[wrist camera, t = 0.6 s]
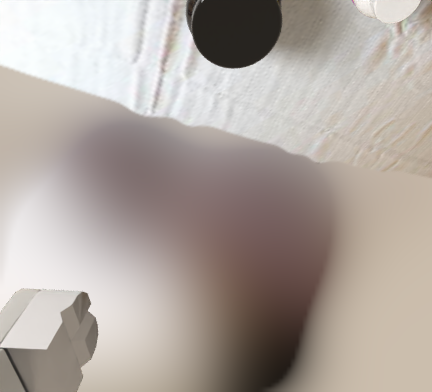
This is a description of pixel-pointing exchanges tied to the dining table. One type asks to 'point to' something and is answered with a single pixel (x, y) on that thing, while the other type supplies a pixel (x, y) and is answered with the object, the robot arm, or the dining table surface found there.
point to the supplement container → (234, 29)
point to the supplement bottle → (387, 9)
